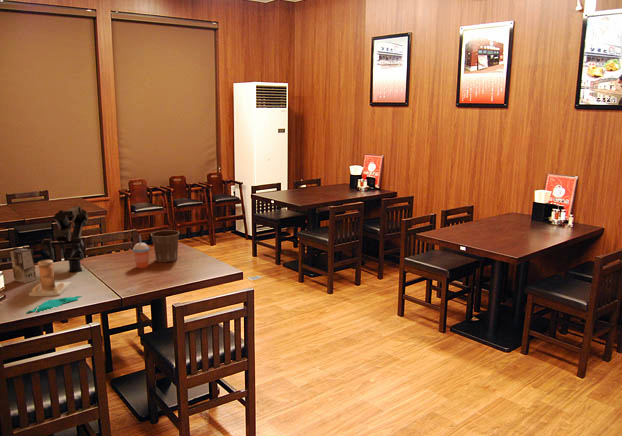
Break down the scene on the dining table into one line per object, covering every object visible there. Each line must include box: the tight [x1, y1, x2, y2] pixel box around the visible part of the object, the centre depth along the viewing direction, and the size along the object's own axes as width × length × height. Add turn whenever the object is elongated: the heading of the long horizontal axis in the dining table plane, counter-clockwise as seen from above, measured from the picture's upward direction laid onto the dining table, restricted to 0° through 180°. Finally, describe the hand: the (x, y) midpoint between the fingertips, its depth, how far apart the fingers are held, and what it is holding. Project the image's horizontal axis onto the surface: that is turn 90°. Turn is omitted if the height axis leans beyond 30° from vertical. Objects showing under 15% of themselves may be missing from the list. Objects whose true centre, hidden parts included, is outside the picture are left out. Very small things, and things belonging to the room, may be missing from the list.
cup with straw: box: [132, 235, 150, 269], centre depth 284 cm, size 9×9×18 cm
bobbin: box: [37, 259, 56, 292], centre depth 245 cm, size 6×6×14 cm
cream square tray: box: [28, 281, 73, 297], centre depth 249 cm, size 16×14×3 cm
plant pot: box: [150, 229, 180, 263], centre depth 297 cm, size 16×16×16 cm
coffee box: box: [9, 247, 37, 284], centre depth 263 cm, size 9×6×16 cm
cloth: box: [25, 295, 83, 315], centre depth 231 cm, size 26×14×2 cm, turn 132°
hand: (60, 257), depth 256 cm, fingers open, 9 cm apart
